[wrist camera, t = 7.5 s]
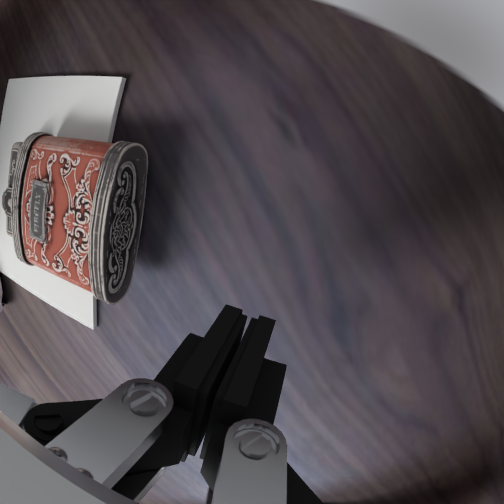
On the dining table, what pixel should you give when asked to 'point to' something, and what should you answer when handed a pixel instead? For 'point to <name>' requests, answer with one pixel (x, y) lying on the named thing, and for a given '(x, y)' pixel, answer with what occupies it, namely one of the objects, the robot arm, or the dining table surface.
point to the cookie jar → (0, 305)
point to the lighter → (78, 209)
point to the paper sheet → (61, 125)
